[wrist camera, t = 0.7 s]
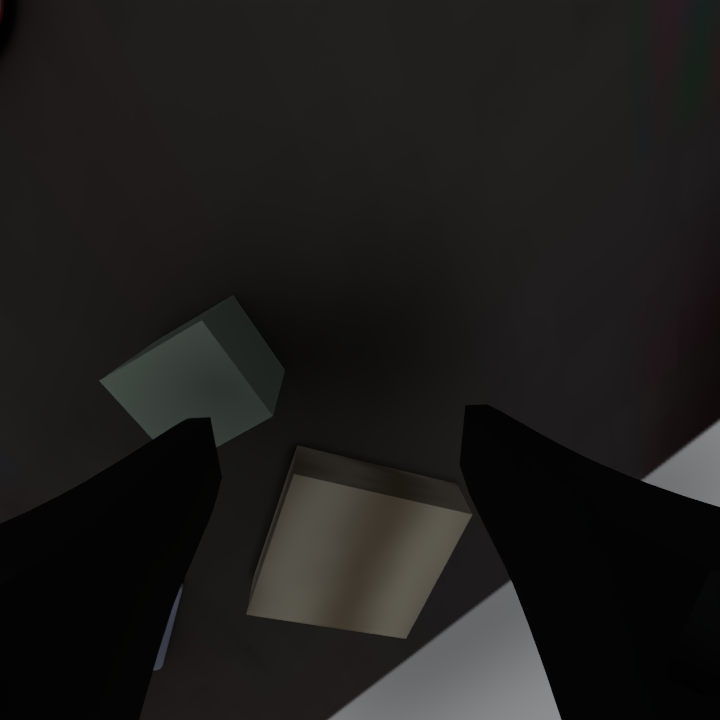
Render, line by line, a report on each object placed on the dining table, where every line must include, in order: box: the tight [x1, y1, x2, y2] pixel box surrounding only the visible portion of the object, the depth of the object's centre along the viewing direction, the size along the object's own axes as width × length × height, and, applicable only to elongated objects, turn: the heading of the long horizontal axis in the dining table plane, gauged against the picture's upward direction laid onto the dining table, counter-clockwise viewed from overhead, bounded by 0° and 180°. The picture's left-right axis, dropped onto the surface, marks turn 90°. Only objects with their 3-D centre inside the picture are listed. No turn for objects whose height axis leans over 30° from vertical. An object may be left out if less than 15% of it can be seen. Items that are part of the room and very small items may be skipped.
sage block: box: [100, 295, 285, 447], centre depth 17 cm, size 4×4×5 cm
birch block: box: [246, 445, 472, 639], centre depth 23 cm, size 10×10×3 cm
